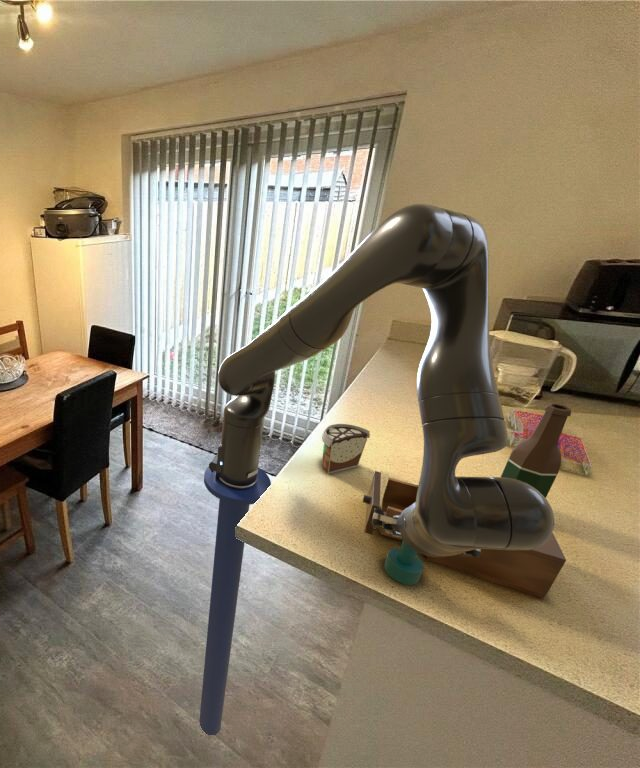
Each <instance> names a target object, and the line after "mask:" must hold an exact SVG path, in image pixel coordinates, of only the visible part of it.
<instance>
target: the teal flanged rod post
mask: <svg viewBox="0 0 640 768" xmlns="http://www.w3.org/2000/svg"><path fill="white" fill-rule="evenodd" d="M418 554H419V552H417V551H415V550H414V549H412V548H411V547H410V546H409V545H408V544H407V543H406V542H405V541H404V539H403V541H401V544H400V548H391V549H390V550H388V552H387V555H386V559H385V561H384V565H383V568H384V571H385V573H386V574H387V575H388V577H390V578H391V579H393V580H394V581H396V582H398V583H400V584H403V585H407V586H414V585H416V584H418V583H419V581H420V578H421V577H422V573H423V571H424V563H423V562H422V560H421V559H420V558H419V557H418Z"/></svg>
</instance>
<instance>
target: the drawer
mask: <svg viewBox="0 0 640 768" xmlns="http://www.w3.org/2000/svg"><path fill="white" fill-rule="evenodd" d="M381 480H382V472H380V471H376V470H374V472H373V476H372V479H371V483H370V486H369V490H368V493H367V495H366V494H363V497H362V503H363V504H366V512H365V522H364V523H365V524H364V533H365V534H367V535H370V536H372V535H373V531H374V528H373V525H372V518H373V513H374V508H376V509H377V508H378V509H381V510H382V511H383V512H385V513H386V516H387V517H391V518H393V516H395V515H400V514H401V513H402V512H403V511H404V510H405V509H406V508H407V507H409V506H410V505H412V504H413V503H415V502H416V495H417V490H418V485H419V484H414V483H411V482H406V481H403V480H400V479H396V478H392V477H388V478H387V481H386V485H385V487H384V491H383V495H382V499H381V485H382V481H381ZM379 531H380V533H379V534H380V535H382V536H383V535H384V536H386V537H389V538H392V539H395V540H398V541H401V542H403V539H400V538H398V537H395V536H388V535H387V533H386V532H384V531H383V528H382V530H379Z"/></svg>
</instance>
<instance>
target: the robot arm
mask: <svg viewBox="0 0 640 768" xmlns="http://www.w3.org/2000/svg"><path fill="white" fill-rule="evenodd" d="M394 284H401V285H406V286H410V287H416V288H420V289H422V290H423V293H424V296H425V299H426V301H427V304H428V307H429V311H430V318H431V325H430V332H429V336H428V340H427V342H426V346H425V348H424V351H423V353H422V356H421V359H420V361H419V364H418V369H417V374H416V396H417V402H418V410H419V414H420V420H421V427H422V434H423V452H422V465H421V471H420V476H419V480H418V484H417V485H418V490H417V495H416V502H415V503H413V504H412V505H410V506H409V507H407V508H406V509H405V510H404V511H403V512H402V513H401V514H400V515H395V516H393V518H391V517H387V516H386V513H385V512H383V511H382V510H381V508H379V509H378V508H377V509H376V508H374V513H373V518H372V525H373V529H375V530H376V531H380V530H382V528H383V531H384V532H386V533H387V535H388V536H387V537H389V536H395V537H398V538H400V539H404V541H405V542H406V543H407V544H408V545H409V546H410V547H411V548H412V549H414V550H415V551H417V552H418V554H420V555H423V556H425V557H426V556H430V557H445V556H453V555H456V556H466V557H480V552H481V549H495V550H519V551H525V550H532V549H536V548H538V547H540V546H542V545H543V544H544V543H545V542H546V541H547V540H548V539H549V538H550V536H551V534H552V532H553V533H554V529H555V514H554V511H553V508H552V506H551V504H550V502H549V501H548V499H547V497H546V498H545V497H544V496H543V495H542V494H541V493H540V492H539V491H538V490H537V489H535V488H534V487H532V486H531V485H529V484H527V483H525V482H523V481H520V480H517V479H512V478H505V477H501V476H456V469H457V466H458V464H459V463H460V461H462V459H465V458H469V457H474V456H479V455H487V454H492V453H496V452H499V451H502V450H504V449H505V448H506V447H507V445H508V443H509V440H508V439H509V435H508V434H507V433H508V432H507V431H508V428H507V424H506V421H505V416H504V411H503V406H502V403H501V397H500V394H499V389H498V385H497V380H496V375H495V370H494V365H493V357H492V351H491V341H490V340H491V339H490V337H491V336H490V310H489V309H490V307H489V306H490V305H489V303H490V301H489V243H488V237H487V232H486V229H485V228H484V226H483V224H482V223H481V222H480V221H479V220H477V219H476V218H474V217H473V216H470V215H468V214H466V213H465V214H464V213H461V212H458V211H453V210H450V209H447V208H443V207H439V206H436V205H432V204H426V203H425V204H424V203H414V204H410V205H406V206H404V207H402V208H400V209H398V210H397V211H395V212H393V213H391V214H390V215H389V216H388V217H386V218H385V219H384V220H383V221H382V222H381V223H380V224H379V225H377V227H375V228H374V229H373V230H372V231H371V232H370V233H369V234H368V236H366V237H365V239H364V240H362V241H361V243H360V244H358V246H357V247H356V248H355V249H354V250H353V251H352V252H351V253H350V254H349V255H348V256H347V257H346V258H345V259H344V260H343V261H342V262H341V263H340V264H339V265H338V266H337V267H336V268H335V269H334V270H333V271H332V272H331V273H330V274H329V275H328V276H326V277H325V278H324V279H323V280H322V281H321V282H320V283H319V284H318V285H316V286H315V288H313V289H311V291H309V292H308V293H307V294H306V295H305V296H304V297H302V298H301V299H300V300H298V301H297V302H296V303H294V304H293V305H292V306H291V307H289V308H288V310H286V311H285V312H284V313H282V315H281V316H279V318H277V319H276V320H275V321H273V323H272V324H270V325H269V326H267V328H266V329H264V330H263V331H262V332H261V333H259V334H258V335H257V336H256V337H255V338H253V340H252V341H250V342H249V343H247V344H246V345H245V346H243V347H241V348H240V349H238V350H237V351H235V352H233V353H232V354H230V355H228V356H227V357H225V359H224V360H223V361H222V363H221V364H220V366H219V369H218V374H217V379H218V383H219V386H220V388H221V389H222V390H223V391H224V392H225V393H226V394H227V395H230V396H235V397H234V398H232V399H231V400H230V401H228V402H227V403H226V404H225V406H224V409H223V417H222V428H221V429H222V430H221V441H220V444H219V445H218V447H217V454H215V456H214V457H213V459H212V460H211V461H210V462H209V464H208V466H209V468H210V470H211V472H214V471H216V480H219V481H220V482H221V483H222V484H223V485H225V486H227V487H229V488H231V489H235V490H247V489H250V488H252V487H254V486H255V484H256V481H257V473H258V467H259V461H260V456H261V449H262V440H263V433H264V425H265V418H266V416H267V414H268V413H269V411H270V409H271V408H270V407H271V402H272V397H273V394H274V393H273V392H274V389H275V388H274V387H275V382H276V381H275V380H276V371H279V370H282V369H286V368H288V367H291V366H294V365H297V364H299V363H302V362H304V361H307V360H309V359H311V358H314V357H315V356H317V355H318V354H320V353H322V352H324V351H325V350H326V349H328V348H329V347H331V346H333V345H334V344H336V343H337V342H338V341H339V340H340V339H341V338H342V337H343V336H344V335H345V333H346V331H347V330H348V328H349V325H350V324H351V323H350V322H351V320H352V318H353V317H352V316H353V315H354V312H355V309H356V308H357V307H358V306H359V305H360V304H361V303H363V302H364V301H366V300H367V299H369V298H370V297H371V296H373V295H375V294H376V293H378V292H379V291H381V290H383V289H385V288H387V287H390V286H391V285H394Z"/></svg>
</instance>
